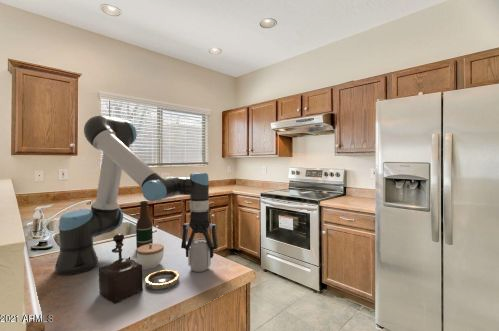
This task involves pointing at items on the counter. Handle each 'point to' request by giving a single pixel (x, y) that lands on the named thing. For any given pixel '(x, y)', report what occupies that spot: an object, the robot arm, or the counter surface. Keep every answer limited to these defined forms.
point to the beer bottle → (144, 227)
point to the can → (199, 255)
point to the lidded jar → (150, 255)
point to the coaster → (162, 280)
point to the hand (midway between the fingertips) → (199, 264)
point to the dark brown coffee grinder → (120, 276)
